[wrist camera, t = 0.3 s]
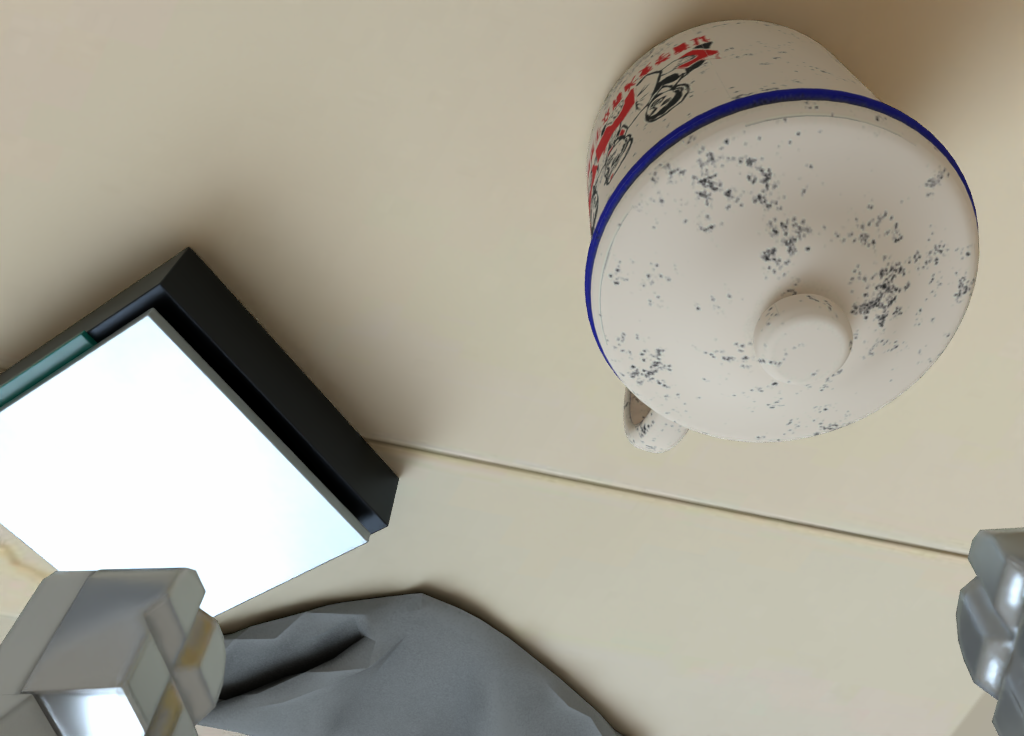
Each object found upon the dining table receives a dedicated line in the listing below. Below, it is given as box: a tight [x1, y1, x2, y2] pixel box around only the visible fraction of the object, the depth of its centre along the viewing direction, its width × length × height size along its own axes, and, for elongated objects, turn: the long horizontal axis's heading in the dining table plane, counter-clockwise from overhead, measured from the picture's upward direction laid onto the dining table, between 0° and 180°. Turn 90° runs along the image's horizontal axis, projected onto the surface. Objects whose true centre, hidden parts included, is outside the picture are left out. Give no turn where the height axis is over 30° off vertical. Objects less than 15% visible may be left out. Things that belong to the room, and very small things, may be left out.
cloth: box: [197, 593, 623, 736], centre depth 42 cm, size 26×14×2 cm, turn 66°
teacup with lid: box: [585, 20, 979, 453], centre depth 25 cm, size 12×9×12 cm
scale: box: [0, 247, 399, 617], centre depth 34 cm, size 12×12×4 cm
